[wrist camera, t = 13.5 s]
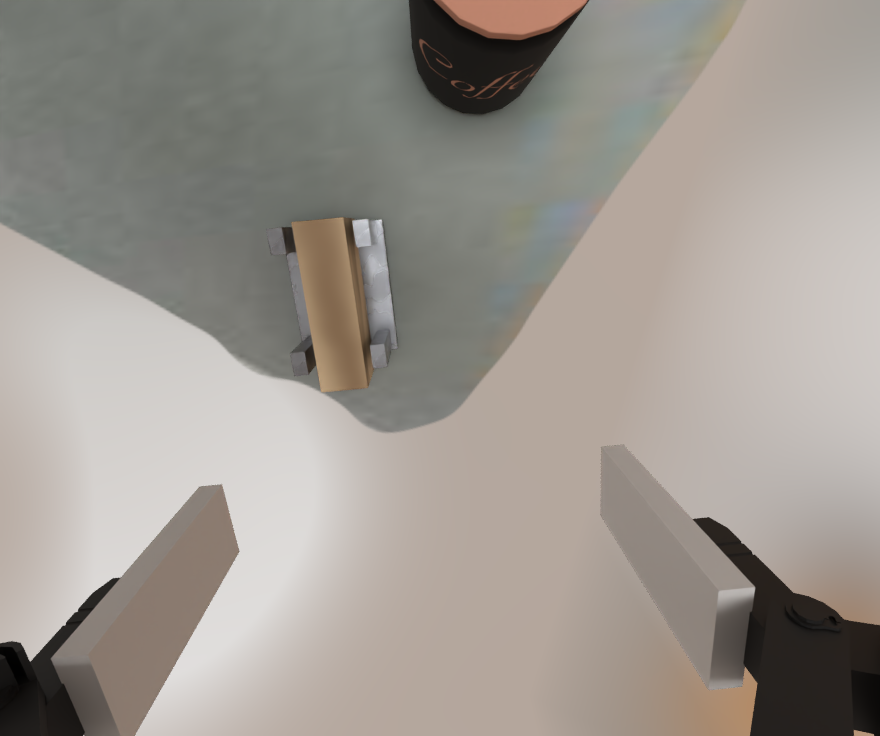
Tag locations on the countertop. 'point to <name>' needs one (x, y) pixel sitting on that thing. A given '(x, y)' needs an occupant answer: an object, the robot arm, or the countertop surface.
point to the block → (335, 302)
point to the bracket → (375, 290)
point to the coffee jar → (485, 46)
